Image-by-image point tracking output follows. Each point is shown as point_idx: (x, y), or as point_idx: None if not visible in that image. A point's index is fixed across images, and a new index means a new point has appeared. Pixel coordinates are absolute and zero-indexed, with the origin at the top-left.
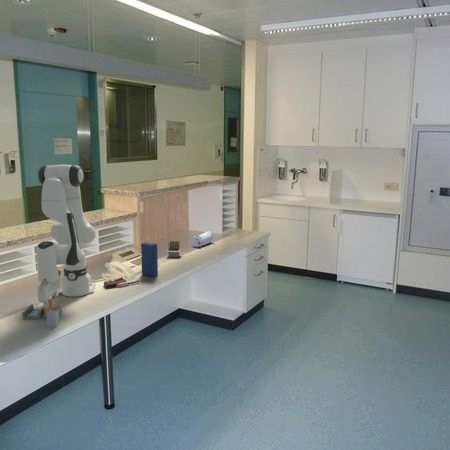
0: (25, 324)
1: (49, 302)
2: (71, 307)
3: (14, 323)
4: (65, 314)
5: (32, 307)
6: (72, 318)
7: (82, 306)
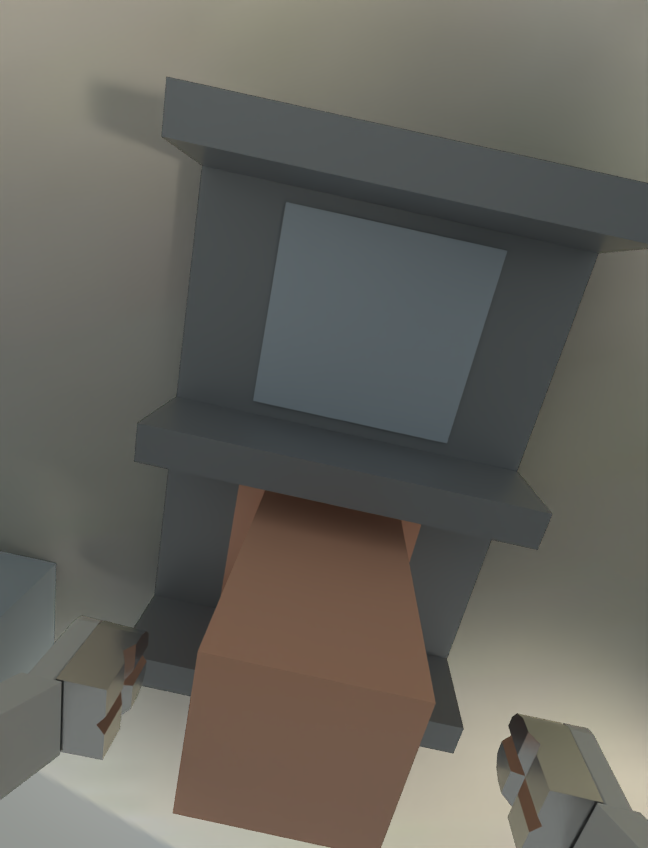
0: (9, 233)
1: (182, 755)
2: None
3: (46, 10)
4: None
5: (587, 241)
6: None
7: None
